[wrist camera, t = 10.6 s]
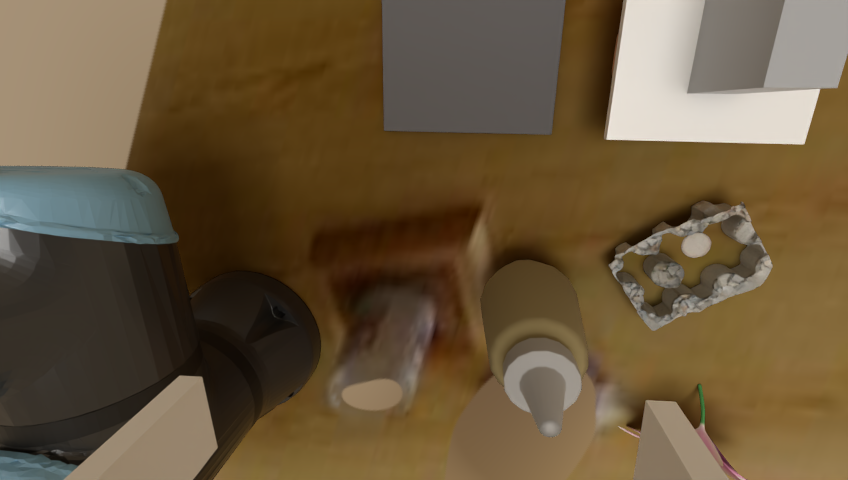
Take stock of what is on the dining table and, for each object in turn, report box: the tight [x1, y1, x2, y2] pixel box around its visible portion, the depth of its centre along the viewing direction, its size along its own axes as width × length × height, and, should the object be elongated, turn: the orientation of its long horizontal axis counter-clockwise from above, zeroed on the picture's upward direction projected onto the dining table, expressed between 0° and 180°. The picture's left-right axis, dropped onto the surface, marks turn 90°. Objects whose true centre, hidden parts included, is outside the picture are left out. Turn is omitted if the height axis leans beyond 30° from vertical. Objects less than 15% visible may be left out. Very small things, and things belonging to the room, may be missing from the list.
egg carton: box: [609, 201, 773, 331], centre depth 34 cm, size 11×8×4 cm
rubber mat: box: [382, 0, 566, 135], centre depth 33 cm, size 14×14×1 cm
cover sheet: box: [604, 0, 848, 144], centre depth 22 cm, size 12×12×9 cm
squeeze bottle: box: [480, 259, 588, 437], centre depth 30 cm, size 8×8×18 cm
